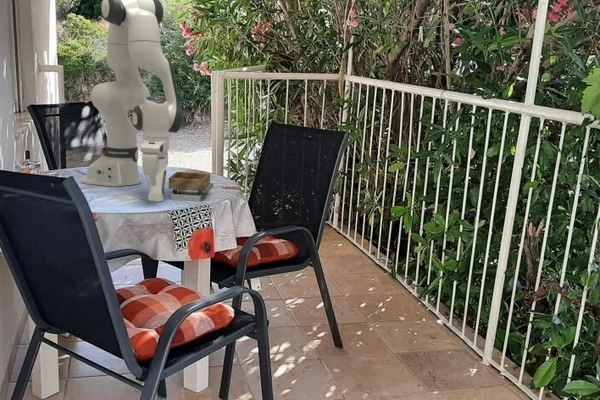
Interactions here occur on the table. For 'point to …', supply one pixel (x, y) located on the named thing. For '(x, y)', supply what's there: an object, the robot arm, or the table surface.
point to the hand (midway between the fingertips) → (156, 183)
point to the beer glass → (158, 183)
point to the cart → (189, 181)
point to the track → (190, 195)
